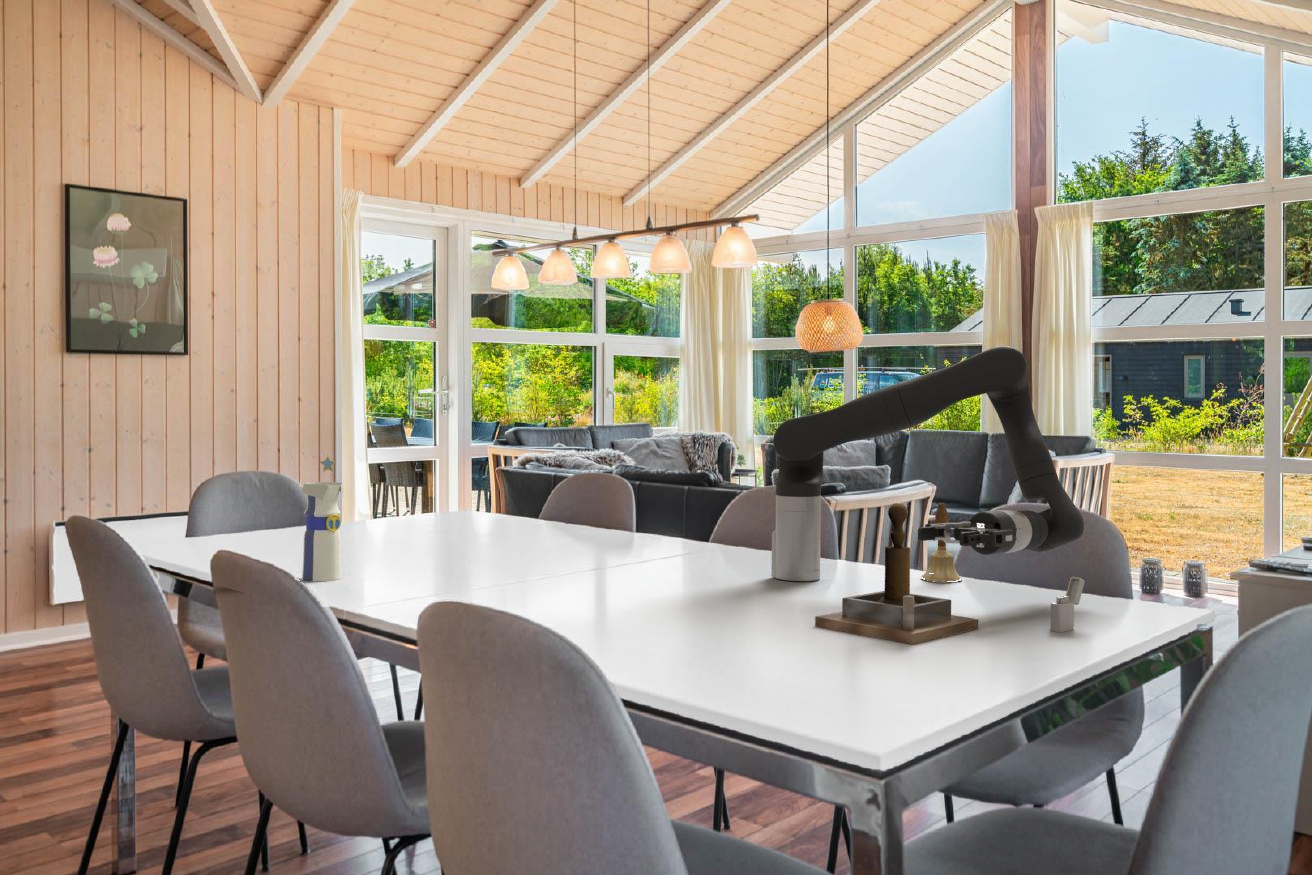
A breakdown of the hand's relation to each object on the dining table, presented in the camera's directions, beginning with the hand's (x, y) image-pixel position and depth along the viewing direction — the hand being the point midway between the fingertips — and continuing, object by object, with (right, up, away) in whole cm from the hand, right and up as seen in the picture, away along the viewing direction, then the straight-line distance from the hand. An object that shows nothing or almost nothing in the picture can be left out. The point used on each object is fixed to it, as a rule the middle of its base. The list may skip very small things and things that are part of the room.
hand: (940, 536), depth 173 cm
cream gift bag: (-114, -12, +38) cm, 121 cm away
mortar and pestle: (-9, -12, -8) cm, 17 cm away
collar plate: (-9, -14, -8) cm, 18 cm away
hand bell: (+12, -13, +43) cm, 46 cm away
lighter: (+18, -14, -8) cm, 24 cm away
